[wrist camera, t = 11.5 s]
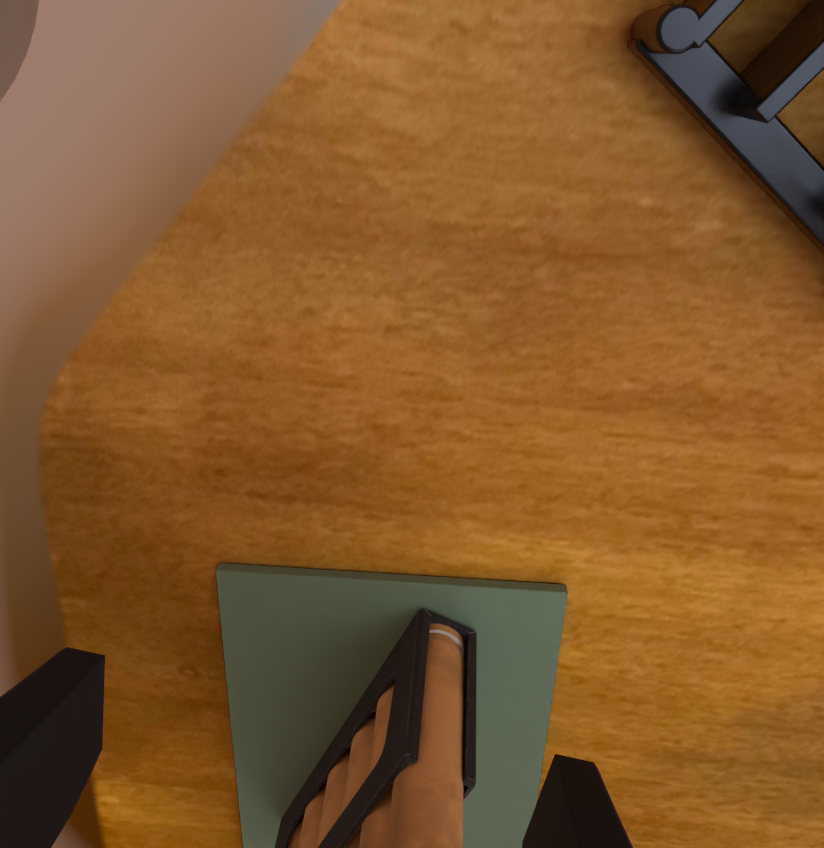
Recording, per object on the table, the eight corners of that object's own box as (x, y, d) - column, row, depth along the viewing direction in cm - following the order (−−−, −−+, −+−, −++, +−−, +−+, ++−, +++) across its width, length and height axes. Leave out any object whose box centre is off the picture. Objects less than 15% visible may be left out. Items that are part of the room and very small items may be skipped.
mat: (218, 562, 22) (215, 570, 22) (566, 584, 22) (567, 592, 22) (249, 873, 29) (245, 883, 28) (520, 894, 28) (521, 905, 28)
